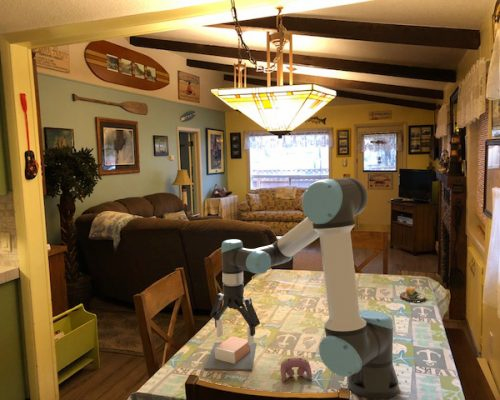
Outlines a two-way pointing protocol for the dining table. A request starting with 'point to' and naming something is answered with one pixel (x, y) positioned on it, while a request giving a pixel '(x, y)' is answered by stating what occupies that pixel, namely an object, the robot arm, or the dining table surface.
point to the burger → (412, 295)
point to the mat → (241, 364)
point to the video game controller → (295, 362)
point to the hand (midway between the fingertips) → (235, 340)
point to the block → (232, 349)
